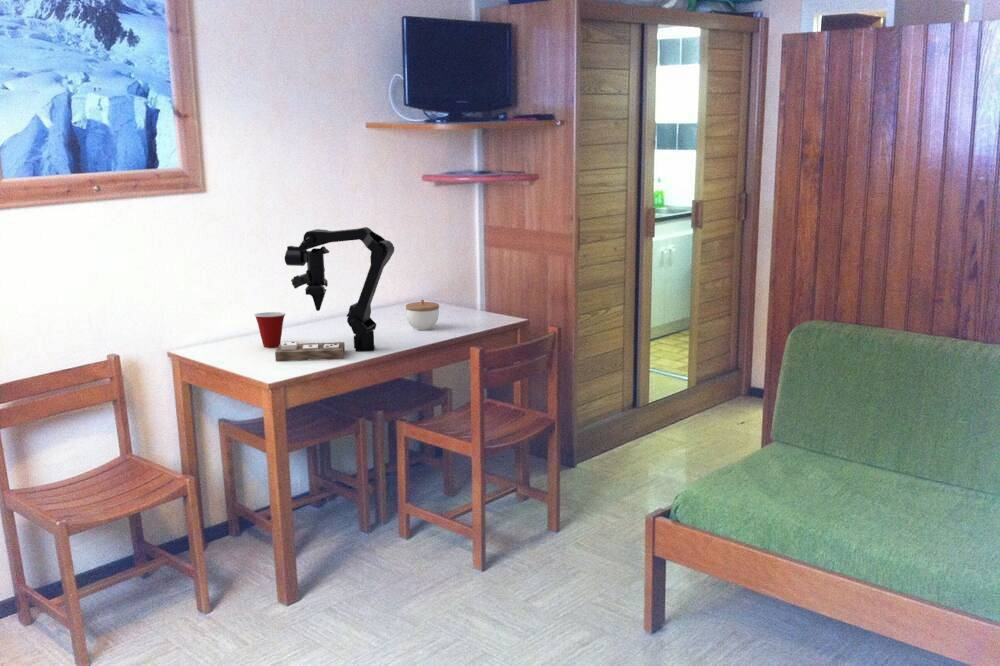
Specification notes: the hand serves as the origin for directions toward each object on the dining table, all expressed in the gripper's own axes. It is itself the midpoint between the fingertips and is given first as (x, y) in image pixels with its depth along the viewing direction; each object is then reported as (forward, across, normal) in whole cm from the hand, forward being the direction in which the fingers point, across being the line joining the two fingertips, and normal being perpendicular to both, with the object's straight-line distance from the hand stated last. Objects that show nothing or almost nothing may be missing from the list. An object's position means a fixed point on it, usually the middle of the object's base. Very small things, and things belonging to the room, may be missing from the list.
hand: (318, 310), depth 332 cm
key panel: (+13, +13, -2) cm, 18 cm away
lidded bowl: (+13, -26, +37) cm, 47 cm away
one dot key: (+12, +13, -2) cm, 17 cm away
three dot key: (+12, +13, +5) cm, 18 cm away
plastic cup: (+13, -4, -17) cm, 22 cm away
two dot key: (+10, +13, -9) cm, 19 cm away
